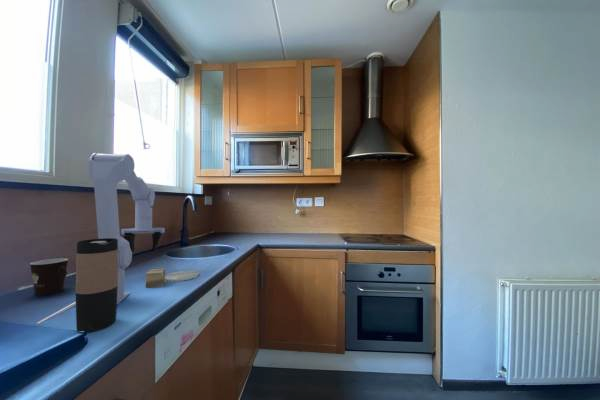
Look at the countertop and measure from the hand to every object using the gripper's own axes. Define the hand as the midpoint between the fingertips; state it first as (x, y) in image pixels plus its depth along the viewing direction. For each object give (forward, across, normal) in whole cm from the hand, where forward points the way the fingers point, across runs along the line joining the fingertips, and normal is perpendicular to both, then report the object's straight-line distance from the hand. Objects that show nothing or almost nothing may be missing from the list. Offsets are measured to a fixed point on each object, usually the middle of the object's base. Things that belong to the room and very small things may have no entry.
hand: (143, 251), depth 96 cm
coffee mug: (+10, +23, +12) cm, 28 cm away
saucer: (+10, -15, +6) cm, 19 cm away
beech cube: (+10, -8, +13) cm, 18 cm away
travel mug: (+10, -2, +41) cm, 43 cm away
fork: (+11, +10, +26) cm, 30 cm away
